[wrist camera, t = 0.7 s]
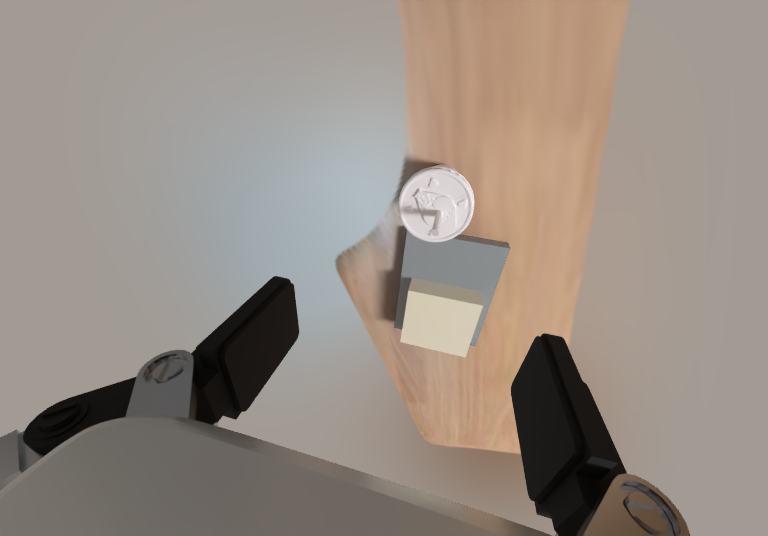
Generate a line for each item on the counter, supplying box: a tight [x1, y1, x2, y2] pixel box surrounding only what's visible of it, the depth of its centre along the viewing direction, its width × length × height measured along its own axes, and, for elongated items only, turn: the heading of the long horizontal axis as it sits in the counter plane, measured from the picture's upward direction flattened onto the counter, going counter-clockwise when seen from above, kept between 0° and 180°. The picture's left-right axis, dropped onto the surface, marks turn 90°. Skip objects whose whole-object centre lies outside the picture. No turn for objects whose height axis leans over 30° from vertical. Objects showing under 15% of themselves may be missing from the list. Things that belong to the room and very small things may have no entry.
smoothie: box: [398, 164, 474, 242], centre depth 25 cm, size 6×6×14 cm
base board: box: [394, 230, 510, 357], centre depth 36 cm, size 16×12×4 cm
